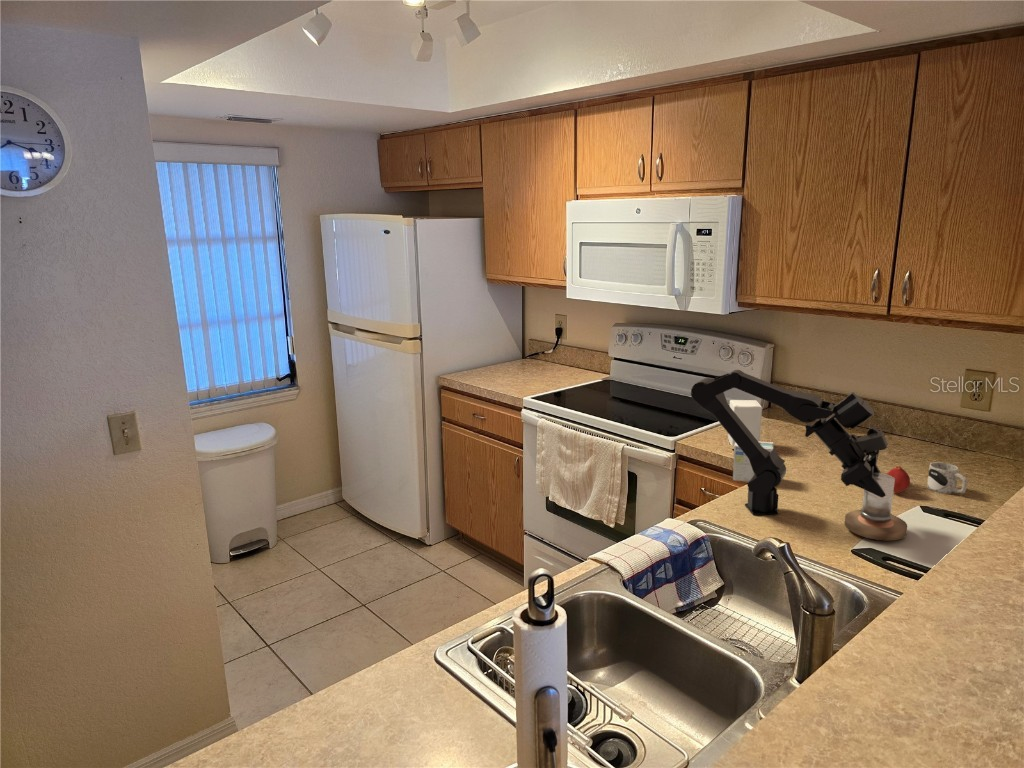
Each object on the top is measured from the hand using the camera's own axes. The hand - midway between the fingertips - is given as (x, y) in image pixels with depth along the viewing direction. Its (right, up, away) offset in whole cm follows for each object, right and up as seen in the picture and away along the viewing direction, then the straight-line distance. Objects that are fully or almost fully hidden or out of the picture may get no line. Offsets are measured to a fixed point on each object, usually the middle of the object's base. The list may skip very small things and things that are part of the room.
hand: (885, 491), depth 156 cm
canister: (-1, -6, +2) cm, 7 cm away
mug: (+31, -4, +26) cm, 40 cm away
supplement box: (-10, +4, +67) cm, 68 cm away
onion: (+17, -5, +25) cm, 31 cm away
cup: (+13, -2, +35) cm, 37 cm away
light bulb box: (-17, -3, +38) cm, 42 cm away
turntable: (-1, -10, +3) cm, 10 cm away
